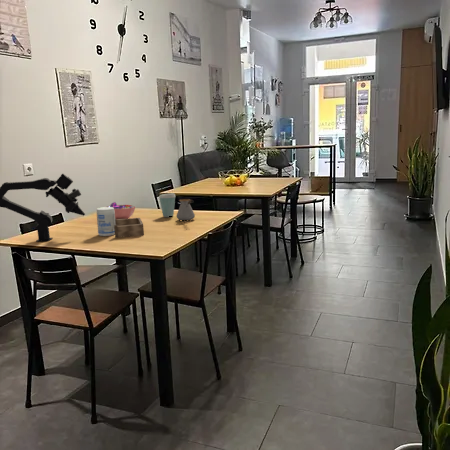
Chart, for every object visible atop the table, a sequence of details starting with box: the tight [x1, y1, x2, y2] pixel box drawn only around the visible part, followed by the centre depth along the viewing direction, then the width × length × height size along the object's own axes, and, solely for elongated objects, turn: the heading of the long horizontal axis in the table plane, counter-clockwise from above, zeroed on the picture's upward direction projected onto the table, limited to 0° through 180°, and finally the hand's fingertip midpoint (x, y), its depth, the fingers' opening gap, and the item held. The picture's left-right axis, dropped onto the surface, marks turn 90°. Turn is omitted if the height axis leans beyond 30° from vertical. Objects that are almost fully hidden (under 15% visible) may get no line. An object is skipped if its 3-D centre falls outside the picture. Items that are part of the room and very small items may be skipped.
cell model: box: [106, 201, 136, 220], centre depth 287 cm, size 17×20×11 cm
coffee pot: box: [176, 198, 196, 221], centre depth 273 cm, size 21×12×15 cm, turn 21°
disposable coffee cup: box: [158, 192, 176, 218], centre depth 292 cm, size 11×11×15 cm
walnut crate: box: [114, 217, 145, 239], centre depth 250 cm, size 15×21×7 cm
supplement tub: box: [96, 206, 115, 237], centre depth 246 cm, size 10×10×15 cm
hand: (84, 214), depth 242 cm, fingers closed
